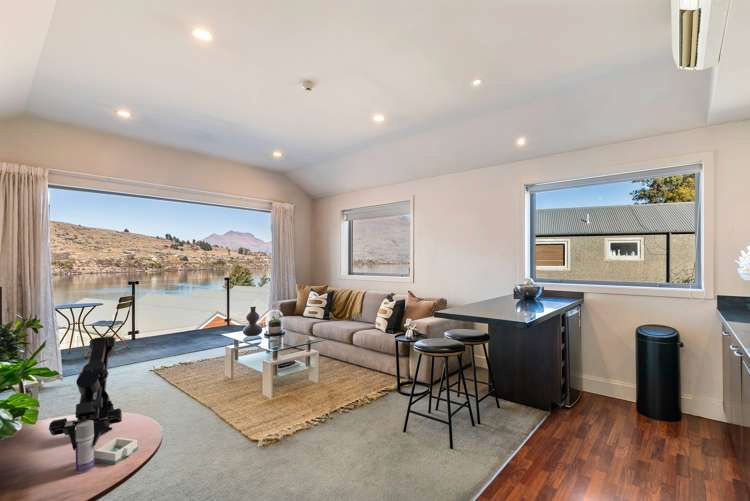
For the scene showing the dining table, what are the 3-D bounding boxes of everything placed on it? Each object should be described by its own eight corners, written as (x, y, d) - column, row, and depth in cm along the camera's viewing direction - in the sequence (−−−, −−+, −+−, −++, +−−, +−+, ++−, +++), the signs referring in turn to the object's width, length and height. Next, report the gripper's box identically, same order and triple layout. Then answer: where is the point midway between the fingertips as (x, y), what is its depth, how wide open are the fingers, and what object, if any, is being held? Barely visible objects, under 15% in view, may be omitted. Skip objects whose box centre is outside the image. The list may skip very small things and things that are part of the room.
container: (78, 466, 118) (78, 421, 118) (96, 463, 120) (96, 418, 120) (73, 474, 114) (73, 427, 114) (91, 471, 115) (91, 425, 115)
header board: (93, 461, 121) (93, 450, 121) (117, 446, 130) (117, 437, 130) (117, 464, 119) (117, 454, 119) (140, 449, 128) (140, 440, 128)
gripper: (50, 396, 115) (40, 446, 106) (120, 385, 125) (117, 430, 115) (56, 411, 122) (47, 459, 113) (123, 399, 131) (120, 443, 122)
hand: (84, 447), depth 115 cm, fingers closed on container, 5 cm apart
